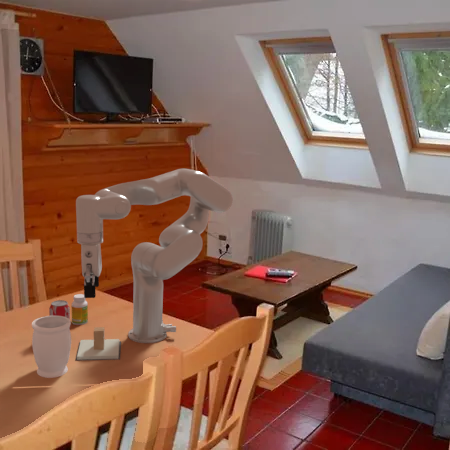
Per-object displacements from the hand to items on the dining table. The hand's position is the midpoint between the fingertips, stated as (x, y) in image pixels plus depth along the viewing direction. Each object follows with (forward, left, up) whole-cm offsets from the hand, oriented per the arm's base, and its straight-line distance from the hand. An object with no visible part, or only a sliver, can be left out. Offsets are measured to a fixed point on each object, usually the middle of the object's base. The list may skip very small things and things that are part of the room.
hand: (91, 291), depth 169 cm
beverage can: (+11, -10, -19) cm, 24 cm away
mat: (-2, +1, -19) cm, 19 cm away
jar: (+10, +14, -19) cm, 26 cm away
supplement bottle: (+6, -23, -19) cm, 30 cm away
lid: (-2, +1, -19) cm, 19 cm away
